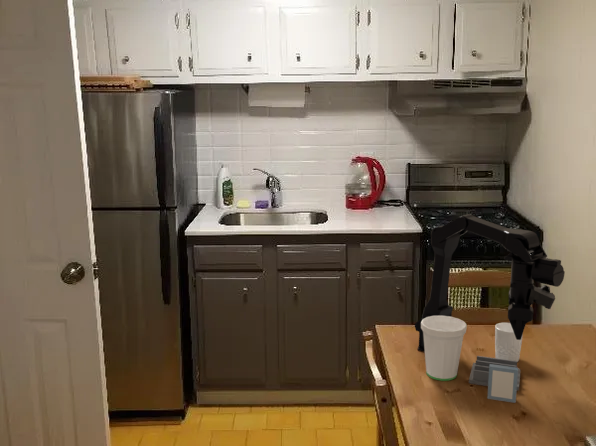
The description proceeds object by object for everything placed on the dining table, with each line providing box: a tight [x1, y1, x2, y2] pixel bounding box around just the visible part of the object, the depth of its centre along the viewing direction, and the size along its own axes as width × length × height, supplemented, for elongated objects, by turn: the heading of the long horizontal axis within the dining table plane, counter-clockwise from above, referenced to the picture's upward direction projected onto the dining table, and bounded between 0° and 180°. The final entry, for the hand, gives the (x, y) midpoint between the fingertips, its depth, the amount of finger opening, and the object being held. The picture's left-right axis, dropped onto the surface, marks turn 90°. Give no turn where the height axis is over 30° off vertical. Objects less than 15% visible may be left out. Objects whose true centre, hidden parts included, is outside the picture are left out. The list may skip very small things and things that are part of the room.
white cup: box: [494, 322, 524, 363], centre depth 191 cm, size 8×8×10 cm
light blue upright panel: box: [487, 364, 519, 404], centre depth 167 cm, size 7×2×9 cm, turn 70°
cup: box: [421, 316, 468, 382], centre depth 181 cm, size 12×12×15 cm
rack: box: [468, 355, 521, 392], centre depth 179 cm, size 13×12×4 cm
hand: (518, 333), depth 175 cm, fingers open, 9 cm apart
